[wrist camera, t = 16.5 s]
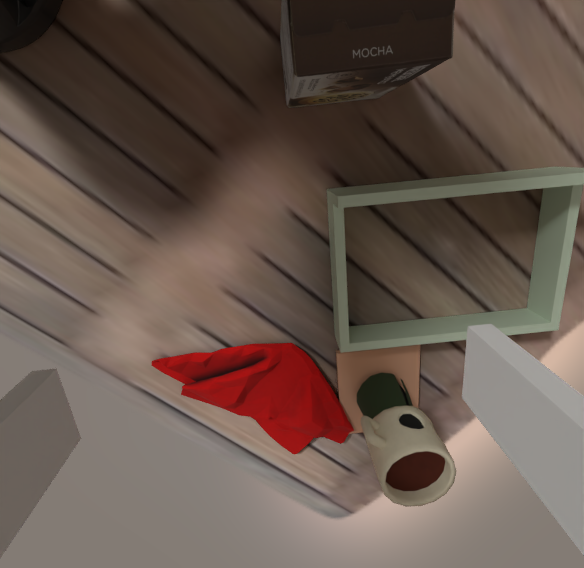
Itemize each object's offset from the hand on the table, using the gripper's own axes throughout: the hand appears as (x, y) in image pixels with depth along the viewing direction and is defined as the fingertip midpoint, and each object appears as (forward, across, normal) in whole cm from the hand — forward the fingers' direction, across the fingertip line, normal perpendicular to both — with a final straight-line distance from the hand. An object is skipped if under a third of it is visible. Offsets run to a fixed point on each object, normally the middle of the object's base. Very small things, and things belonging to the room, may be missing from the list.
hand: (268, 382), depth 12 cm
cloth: (+28, -3, -20) cm, 35 cm away
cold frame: (+29, +18, -6) cm, 34 cm away
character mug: (+28, +11, -22) cm, 37 cm away
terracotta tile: (+29, +11, -22) cm, 38 cm away
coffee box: (+29, +7, +14) cm, 33 cm away
